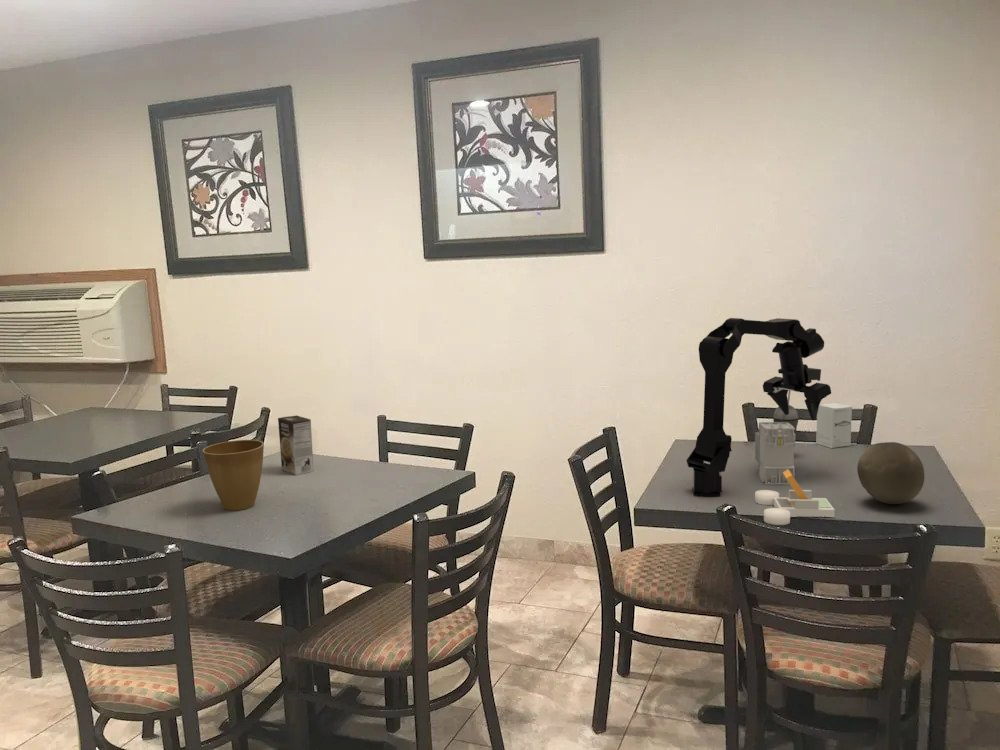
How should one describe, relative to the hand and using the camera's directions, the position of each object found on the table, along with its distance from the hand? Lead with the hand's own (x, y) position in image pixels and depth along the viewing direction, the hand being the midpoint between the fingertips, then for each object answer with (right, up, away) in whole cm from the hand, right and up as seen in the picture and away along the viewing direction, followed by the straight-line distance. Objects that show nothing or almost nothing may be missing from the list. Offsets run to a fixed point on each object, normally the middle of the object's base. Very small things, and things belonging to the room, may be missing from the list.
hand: (800, 417), depth 221 cm
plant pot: (-150, -23, -13) cm, 152 cm away
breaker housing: (-11, -21, -31) cm, 39 cm away
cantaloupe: (+11, -20, -28) cm, 36 cm away
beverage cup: (+3, -13, +19) cm, 23 cm away
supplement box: (+22, -11, +31) cm, 39 cm away
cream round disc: (-19, -22, -37) cm, 47 cm away
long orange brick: (-11, -17, -32) cm, 38 cm away
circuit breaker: (-8, -16, -2) cm, 18 cm away
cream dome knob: (-17, -20, -23) cm, 35 cm away
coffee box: (-143, -17, +21) cm, 146 cm away
